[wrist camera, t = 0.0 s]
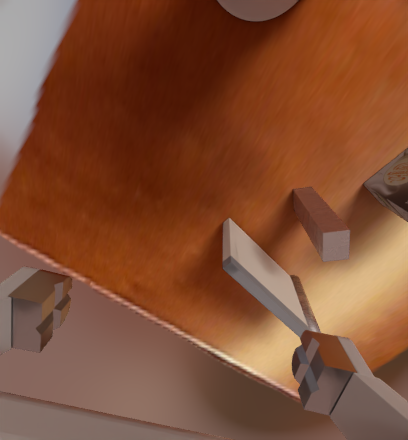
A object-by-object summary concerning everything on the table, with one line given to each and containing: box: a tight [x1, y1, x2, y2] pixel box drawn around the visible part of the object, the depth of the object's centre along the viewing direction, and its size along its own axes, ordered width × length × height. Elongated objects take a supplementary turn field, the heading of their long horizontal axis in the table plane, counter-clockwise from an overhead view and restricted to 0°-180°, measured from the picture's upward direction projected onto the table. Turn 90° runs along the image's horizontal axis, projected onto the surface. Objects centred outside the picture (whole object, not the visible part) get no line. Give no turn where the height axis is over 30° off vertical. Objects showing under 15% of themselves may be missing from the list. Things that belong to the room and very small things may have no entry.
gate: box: [223, 218, 309, 338], centre depth 45 cm, size 17×2×14 cm, turn 45°
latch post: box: [293, 187, 350, 262], centre depth 41 cm, size 4×3×16 cm
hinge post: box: [290, 275, 321, 333], centre depth 48 cm, size 3×3×16 cm
